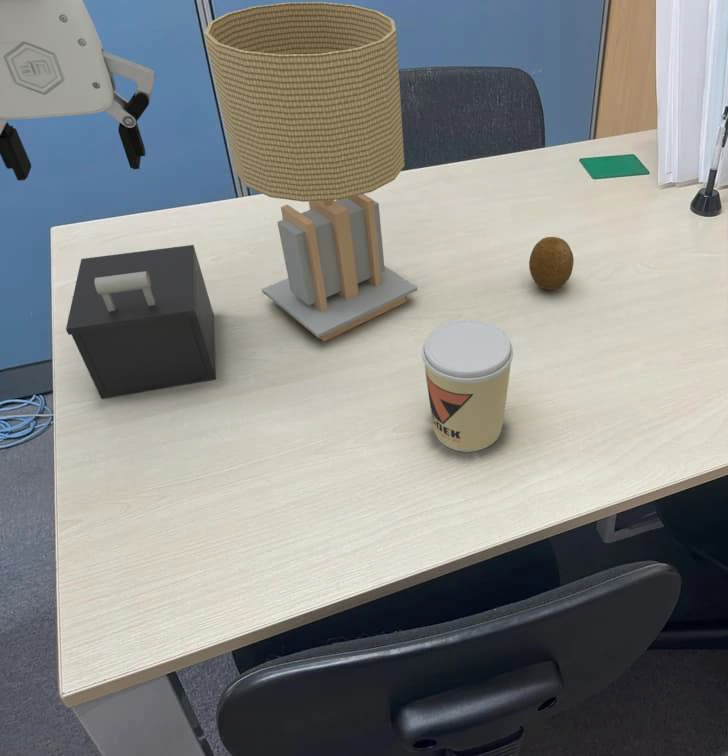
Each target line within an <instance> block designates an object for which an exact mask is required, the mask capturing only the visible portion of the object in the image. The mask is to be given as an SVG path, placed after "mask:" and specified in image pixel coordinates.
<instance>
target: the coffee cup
mask: <svg viewBox="0 0 728 756" xmlns="http://www.w3.org/2000/svg"><path fill="white" fill-rule="evenodd" d="M421 356H422V357H421V358H422V361H423V363H424V370H425V379H426V385H427V393H428V400H429V407H430V414H431V420H432V426H433V427H432V428H433V432H434V434H435V436H436V438H437V440H438V441H439V442H440V443H441V444H442V445H443V446H445V447H447V448H449V449H451V450H453V451H458V452H462V453H463V452H464V453H467V452H468V453H469V452H472V453H473V452H476V451H481V450H484V449H486V448H488V447H490V446H492V445H493V444H494V443H495V442H497V440H498V438H499V437H500V435H501V433H502V429H503V423H504V416H505V410H506V403H507V395H508V389H509V380H510V374H511V365H512V361H513V358H514V348H513V343H512V341H510V339H509V337H508V335H507V334H506V333H505V331H504V330H502V329H501V328H500V327H499V326H497V325H496V324H494V323H491V322H489V321H485V320H481V319H474V318H473V319H472V318H461V319H454V320H450V321H447V322H444V323H442V324H440V325H438V326H437V327H435V328H434V329H432V331H430V332H429V334H428V335H427V337H426V339H425V341H424V342H423V344H422V349H421Z"/></svg>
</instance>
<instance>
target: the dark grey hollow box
mask: <svg viewBox="0 0 728 756" xmlns="http://www.w3.org/2000/svg"><path fill="white" fill-rule="evenodd" d="M71 337H72V339H73V341H74V343H75V346H76V348H77V350H78V352H79V354H80V356H81V358H82V361H83V362H84V365H85V367H86V369H87V372H88V374H89V376H90V378H91V380H92V382H93V385H94V386H95V388H96V389H95V390H97V392H98V395H99V397H100V399H101V400H103V399H108V398H114V397H120V396H125V395H126V396H127V395H131V394H137V393H144V392H149V391H156V390H161V389H166V388H173V387H178V386H184V385H191V384H196V383H200V382H207V381H212V380H216V379H217V365H216V364H217V363H216V338H215V337H216V335H215V313H214V310H213V307H212V304H211V300H210V296H209V293H208V290H207V286H206V283H205V280H204V276H203V273H202V269H201V265H200V262H199V259H198V255H197V252H196V251H195V316H192V317H185V318H179V319H172V320H165V321H158V322H152V323H145V324H138V325H132V326H125V327H118V328H112V329H105V330H98V331H92V332H85V333H78V334H72V335H71Z"/></svg>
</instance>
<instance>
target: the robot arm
mask: <svg viewBox="0 0 728 756" xmlns="http://www.w3.org/2000/svg"><path fill="white" fill-rule="evenodd" d="M114 75H116V76H120V77H123V78H125V79H128V80H131V81H133V82H134V83H135V84H136V89H135V92H134V93H133V95H132V96H131V98H130V99H129V100H128V99H126V98H125V97H123V95H121V94H120V93H119V92H117V91H116V81H115V77H114ZM155 80H156V73H155V71H154V70H153V69H151V68H150V67H147V66H144V65H141V64H139V63H136V62H133V61H131V60H129V59H126V58H123V57H120V56H118V55H115V54H113V53H110V52H107V51H105V49H104V47H103V44H102V41H101V39H100V36H99V34H98V32H97V29H96V27H95V25H94V23H93V20H92V18H91V16H90V13H89V11H88V9H87V7H86V5H85V3H84V1H83V0H0V158H1V159H2V162H3V164H4V166H5V168H6V169H7V170H8V169H9V170H10V169H12V171H13V173H14V176H15V178H16V180H17V181H26V180H27V179H28V177H29V174H30V172H31V170H32V169H31V168H32V163H31V161H30V158H29V156H28V154H27V151H26V149H25V147H24V144H23V141H22V140H21V137H20V135H19V133H18V130H17V129H16V128H15V127H14V126H13V125H10V124H9V122H8V121H10V120H11V121H13V120H14V121H17V120H31V119H46V118H47V119H48V118H57V117H69V116H83V115H91V114H98V113H101V112H105V113H106V114H108V115H109V116H110V117H112V118H113V119H114V120H116V121H117V122H118V135H119V138H120V141H121V144H122V147H123V150H124V152H125V156H126V159H127V161H128V165H129V168H130V169H132V170H139V169H140V166H141V159H142V157H145V156H146V148H145V144H144V142H143V139H142V135H141V132H140V131H141V130H140V127H139V126H138V121H139V119H140V118H141V116H142V115H143V114H144V112H145V111H146V109H147V108H148V107H149V105H150V101H151V96H152V92H153V88H154V85H155Z"/></svg>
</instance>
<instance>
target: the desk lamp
mask: <svg viewBox="0 0 728 756" xmlns="http://www.w3.org/2000/svg"><path fill="white" fill-rule="evenodd" d="M203 35H204V38H205V42H206V47H207V52H208V56H209V60H210V65H211V68H212V69H211V70H212V73H213V78H214V81H215V86H216V91H217V95H218V98H219V104H220V108H221V113H222V118H223V121H224V125H225V130H226V135H227V139H228V143H229V148H230V152H231V157H232V161H233V165H234V169H235V174H236V175H237V177H238V178H239V179H240V180H241V182H242V183H243V184H244V186H245V187H246V188H247V189H249V190H252V191H255V192H258V193H260V194H262V195H264V196H267V197H268V198H273V199H274V198H275V199H282V200H287V201H295V202H296V201H297V202H302V203H303V202H304V203H305V202H308V206H309V210H306V211H303V212H300V211H298V210H296V209H295V208H293V207H292V206H290V205H289V204H284V205H283V206H280V210H281V216H282V219H281V220H278V221H277V228H278V232H279V237H280V238H279V239H280V243H281V248H282V254H283V258H284V263H285V268H286V273H287V278H286V279H282V280H280V281H278V282H275V283H273V284H270V285H267V286H266V287H263V288H261V292H262V293H263V294H264V296H266V297H268V298H269V299H270V300H271V301H272V302H273V303H275V304H276V305H277V306H278V307H280V308H281V309H282V310H283V311H284V312H286V313H287V314H288V315H289V316H291V317H292V319H294V320H296V322H298V323H299V324H300V325H302V326H303V327H304V328H305V329H307V330H308V331H309V333H312V335H314V336H315V337H316V338H318V339H319V340H321V341H322V342H327V341H329V340H330V339H333V338H335V337H337V336H339V335H341V334H344V333H345V332H347V331H349V330H352V329H353V328H355V327H358V326H359V325H361V324H363V323H365V322H368V321H369V320H372V319H374V318H376V317H378V316H380V315H383V314H384V313H386V312H389V311H390V310H393V309H395V308H396V307H398V306H400V305H403V304H405V303H407V296H408V295H410V294H413V293H414V292H416V291H418V287H417V286H416V285H414V284H413V283H411V282H410V281H408V280H407V279H405V278H404V277H402V276H401V275H400V274H398V273H397V272H395V271H394V270H392V269H391V268H389V267H388V266H386V265H385V258H384V257H385V256H384V247H383V237H382V226H381V225H382V224H381V213H380V204H379V202H377V201H376V200H374V199H373V198H371V197H369V196H367V194H369V193H372V192H374V191H376V190H379V189H380V188H382V187H384V186H385V185H387V184H389V183H391V182H393V181H395V180H396V178H397V177H398V176H399V174H400V173H401V172H402V170H403V169H404V167H405V165H406V164H405V151H404V150H405V148H404V134H403V118H402V100H401V86H400V71H399V70H400V69H399V53H398V39H397V38H398V36H397V27H396V24H395V20H394V19H393V18H391V17H390V16H387V15H386V14H385V13H382V12H381V11H379V10H375V9H371V8H367V7H362V6H359V5H355V4H345V3H335V2H324V1H312V2H311V1H310V2H309V1H307V2H305V1H304V2H302V1H301V2H300V1H299V2H279V3H272V4H264V5H263V4H262V5H256V6H250V7H246V8H243V9H239V10H235V11H231V12H226V13H224V15H221V16H219V17H217V18H216V19H213V20H212V21H209V22H208V24H207V27H206V29H205V30H204V34H203Z"/></svg>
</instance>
